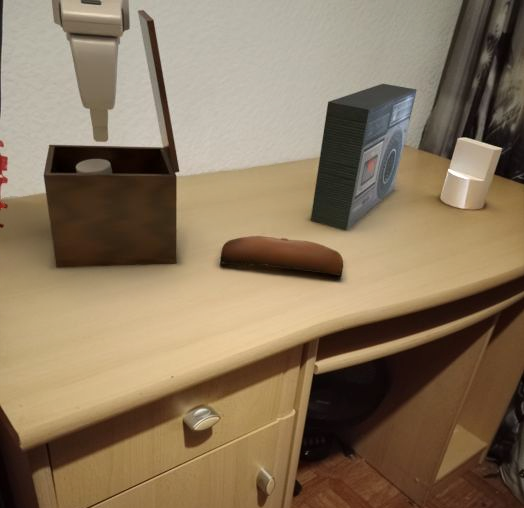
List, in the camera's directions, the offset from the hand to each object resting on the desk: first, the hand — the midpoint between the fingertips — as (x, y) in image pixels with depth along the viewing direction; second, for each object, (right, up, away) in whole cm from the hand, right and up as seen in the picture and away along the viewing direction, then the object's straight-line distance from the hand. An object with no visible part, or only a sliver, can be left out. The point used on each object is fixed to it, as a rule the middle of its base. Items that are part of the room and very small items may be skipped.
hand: (100, 130), depth 73 cm
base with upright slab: (+64, +2, +43) cm, 77 cm away
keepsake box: (-1, -13, +10) cm, 17 cm away
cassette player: (+40, 0, +35) cm, 54 cm away
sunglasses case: (+25, -16, +10) cm, 31 cm away
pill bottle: (-2, -12, +9) cm, 16 cm away
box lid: (+8, +5, -1) cm, 9 cm away
